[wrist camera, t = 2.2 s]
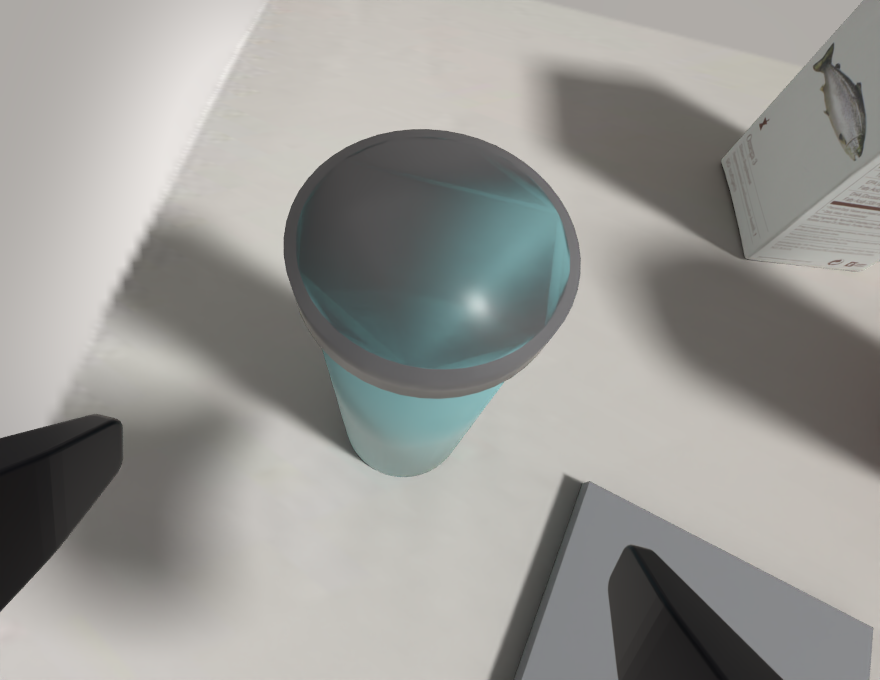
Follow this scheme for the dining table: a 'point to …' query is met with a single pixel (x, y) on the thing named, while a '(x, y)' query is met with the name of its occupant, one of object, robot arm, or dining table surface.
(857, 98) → the supplement box
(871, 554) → the dining table surface
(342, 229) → the teal capped cylinder
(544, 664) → the mat
